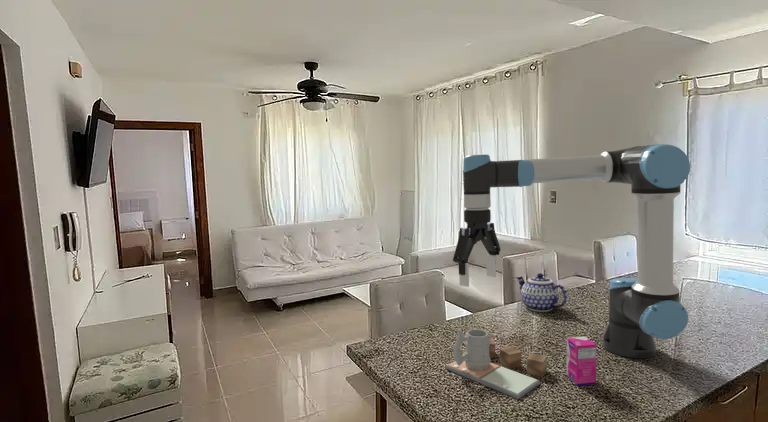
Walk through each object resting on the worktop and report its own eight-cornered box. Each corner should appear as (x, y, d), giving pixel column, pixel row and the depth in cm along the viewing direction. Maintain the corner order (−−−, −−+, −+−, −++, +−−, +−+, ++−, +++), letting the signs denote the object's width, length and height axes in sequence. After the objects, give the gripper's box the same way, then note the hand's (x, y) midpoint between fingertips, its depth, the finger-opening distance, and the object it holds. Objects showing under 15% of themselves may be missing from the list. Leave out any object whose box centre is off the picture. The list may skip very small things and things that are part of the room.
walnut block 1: (493, 351, 139) (493, 338, 139) (495, 357, 135) (495, 344, 134) (479, 351, 140) (479, 338, 140) (480, 357, 136) (480, 343, 135)
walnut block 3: (546, 370, 126) (546, 356, 125) (542, 377, 122) (543, 362, 121) (530, 367, 128) (531, 352, 128) (526, 373, 124) (526, 358, 124)
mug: (496, 368, 125) (496, 328, 124) (461, 375, 121) (460, 335, 120) (481, 357, 132) (481, 319, 131) (447, 364, 128) (447, 325, 127)
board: (539, 384, 118) (539, 379, 118) (518, 399, 111) (518, 394, 110) (468, 357, 136) (468, 353, 136) (445, 368, 128) (445, 364, 128)
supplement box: (565, 375, 122) (566, 337, 121) (585, 374, 123) (586, 335, 121) (576, 386, 116) (576, 345, 115) (597, 384, 117) (598, 344, 116)
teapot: (577, 313, 173) (578, 277, 172) (552, 320, 166) (553, 283, 164) (528, 297, 195) (529, 265, 193) (504, 303, 187) (504, 270, 186)
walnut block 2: (521, 366, 129) (521, 351, 128) (509, 369, 127) (509, 354, 127) (511, 360, 133) (511, 346, 133) (499, 362, 131) (499, 348, 131)
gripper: (490, 204, 135) (491, 270, 137) (439, 212, 118) (441, 287, 120) (511, 205, 129) (512, 274, 131) (461, 213, 112) (462, 292, 114)
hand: (478, 280), depth 126 cm, fingers open, 13 cm apart
